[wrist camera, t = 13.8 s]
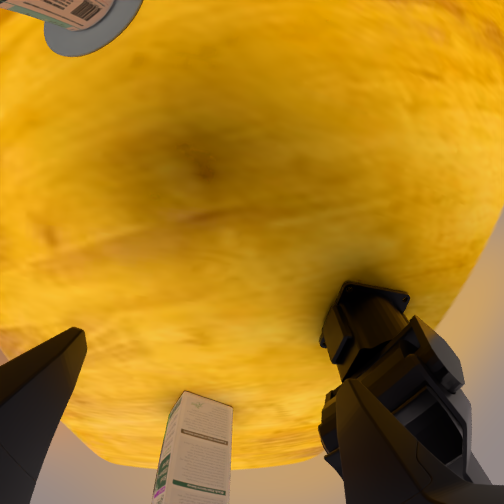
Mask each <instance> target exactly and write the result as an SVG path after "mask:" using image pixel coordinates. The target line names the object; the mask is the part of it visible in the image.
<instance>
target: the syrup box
mask: <svg viewBox="0 0 504 504" xmlns="http://www.w3.org/2000/svg"><path fill="white" fill-rule="evenodd" d="M232 420H233V408H232V407H230V406H227V405H225V404H222V403H219V402H216V401H213V400H210V399H207V398H204V397H201V396H198V395H195V394H193V393H190V392H187V391H184V392H183V394H182V395H181V397H180V398H179V400H178V401H177V403H176V404H175V406H174V407H173V409H172V411H171V413H170V414H169V417H168V422H167V426H166V431H165V436H164V440H163V445H162V450H161V454H160V459H159V465H158V470H157V475H156V480H155V485H154V491H153V497H152V503H151V504H229V496H230V470H231V443H232Z"/></svg>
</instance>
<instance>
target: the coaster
mask: <svg viewBox="0 0 504 504" xmlns="http://www.w3.org/2000/svg"><path fill="white" fill-rule="evenodd" d="M142 2H143V0H114V2H113V4H112V6H111V8H110V9H109V11H108V12H107V14H106V15H105V16H104V17H103V18H102V19H101V20H100V21H98V22H97V23H96V24H94V25H93V26H91V27H89V28H87V29H85V30H81V31H70V30H68V29H65V28H63V27H60V26H57V25H55V24H52V23H49V22H46V21H45V24H44V36H45V40H46V42H47V44H48V46H49V47H50V49H52V50H53V51H54V52H55V53H57V54H60V55H63V56H68V57H78V56H83V55H87V54H90V53H92V52H95V51H97V50H99V49H101V48H102V47H104V46H105V45H107V44H109V43H110V42H111V41H112V40H114V39H115V38H116V37H117V36H118V35H120V34H121V33H122V32H123V31H124V29H125V28H126V27H127V26H128V25H129V24H130V23H131V21H132V20H133V18H134V17H135V15H136V14H137V12H138V10H139V9H140V6H141V4H142Z"/></svg>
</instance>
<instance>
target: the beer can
mask: <svg viewBox="0 0 504 504" xmlns="http://www.w3.org/2000/svg"><path fill="white" fill-rule="evenodd" d="M113 2H114V0H0V8H4V9H7V10H11V11H15V12H18V13H21V14H25V15H28V16H31V17H34V18H37V19H40V20H43V21H46V22H49V23H52V24H55V25H57V26H60V27H63V28H65V29H68V30H70V31H81V30H85V29H87V28H89V27H91V26H93V25H94V24H96V23H97V22H98V21H100V20H101V19H102V18H103V17H104V16H105V15H106V14H107V12H108V11H109V9H110V8H111V6H112V4H113Z"/></svg>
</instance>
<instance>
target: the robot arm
mask: <svg viewBox="0 0 504 504" xmlns="http://www.w3.org/2000/svg"><path fill="white" fill-rule="evenodd" d="M348 287H351V288H350V289H349V290H346V289H347V288H348ZM405 297H406V298H405ZM403 298H405V299H404V300H403ZM409 301H410V296H409V295H408V293H406V292H401V291H396V290H391V289H386V288H381V287H375V286H370V285H365V284H360V283H355V282H346V283H344V284H343V286H342V288H341V291H340V293H339V296H338V298H337V301H336V303H335V304H334V305H333V306H332V307H331V309H330V312H329V314H328V316H327V319H326V321H325V323H324V326H323V328H322V332H323V333H322V335H321V338H320V340H319V343H320V346H321V347H322V348H327V350H328V353H329V357H330V360H331V362H332V364H337V367H338V371H339V374H340V378H341V381H342V384H341V385H340V386H338V387H337V388H336V389H335V390H331V391H330V392H329V393H328V394H326V399H325V405H324V407H323V409H322V420H321V422H322V423H321V424H320V425H319V426H318V431H319V435H320V438H321V442H322V445H323V447H324V449H325V451H326V452H327V455H325V456H324V459H325V460H326V461H327V462H328V463H329V464H330V465H331V466H332V467H333V468H334V469H335V470H336V471H337V472H338V474H339V475H340V476H341V478H342V479H343V481H344V489H345V497H346V504H504V485H492V483H491V482H490V480H489V478H488V477H487V475H486V474H485V472H484V471H483V469H482V467H481V466H480V465H479V463H478V461H477V460H476V458H475V457H474V455H473V453H472V452H471V435H472V426H471V425H472V423H471V422H472V420H471V404H470V402H469V400H468V399H467V397H466V396H465V394H464V393H463V392H462V390H461V389H460V388H461V387H462V386H463V385H464V384H465V381H464V377H463V372H462V367H461V364H460V360H459V358H458V357H457V356H456V354H455V353H454V352H453V350H452V349H451V348H450V346H449V345H448V344H447V343H446V341H445V340H444V339H443V338H442V337H440V336H439V335H438V334H437V333H436V332H435V331H433V330H432V329H431V328H430V327H429V326H428V325H426V324H425V323H424V322H423V321H422V320H421V319H419V318H418V317H417V316H416V315H414V316H413V317H412V318H411V319H410V320H409V321H410V322H409V321H408V319H407V318H406V316H405V315H404V313H403V312H404V311H405V309H406V307H407V305H408V303H409ZM323 342H325V343H323ZM86 353H87V343H86V337H85V332H84V330H82V329H79V328H76V327H71V328H69V329H68V330H66V331H64V332H62V333H60V334H58V335H56V336H55V337H53V338H51V339H49V340H47V341H45V342H43V343H42V344H40V345H38V346H36V347H34V348H32V349H31V350H29V351H27V352H25V353H23V354H21V355H20V356H18V357H16V358H14V359H12V360H11V361H9V362H7V363H5V364H3V365H1V366H0V504H30V500H31V497H32V494H33V491H34V488H35V485H36V481H37V478H38V475H39V473H40V470H41V467H42V464H43V461H44V459H45V456H46V454H47V451H48V448H49V446H50V443H51V441H52V438H53V436H54V433H55V431H56V429H57V426H58V424H59V422H60V419H61V417H62V415H63V412H64V410H65V408H66V406H67V403H68V401H69V399H70V397H71V395H72V392H73V390H74V388H75V385H76V382H77V379H78V376H79V373H80V370H81V367H82V364H83V362H84V359H85V356H86Z"/></svg>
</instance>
